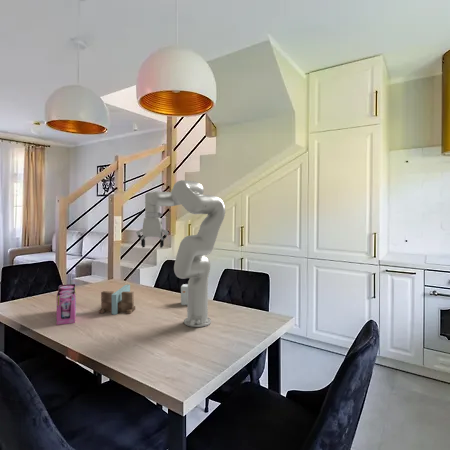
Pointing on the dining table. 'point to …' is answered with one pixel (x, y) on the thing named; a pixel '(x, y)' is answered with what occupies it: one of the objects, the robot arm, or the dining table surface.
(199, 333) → the dining table surface
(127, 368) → the dining table surface
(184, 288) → the small box
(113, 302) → the notched board
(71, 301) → the gum box
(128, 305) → the notched wall
